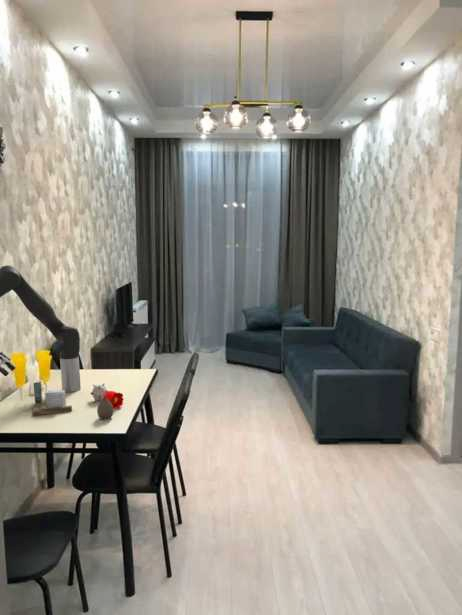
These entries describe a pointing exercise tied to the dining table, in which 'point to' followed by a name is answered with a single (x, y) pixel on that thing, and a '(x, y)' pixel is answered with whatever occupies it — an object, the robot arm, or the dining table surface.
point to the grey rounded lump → (105, 409)
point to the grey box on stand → (39, 401)
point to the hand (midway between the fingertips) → (11, 372)
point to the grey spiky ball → (98, 392)
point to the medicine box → (55, 398)
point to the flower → (114, 398)
